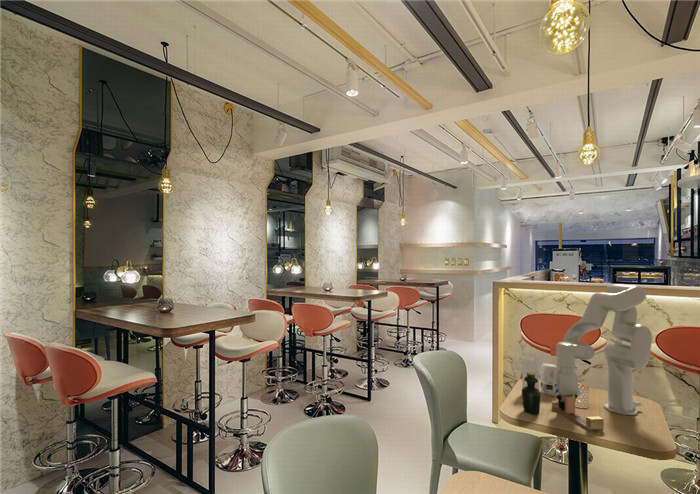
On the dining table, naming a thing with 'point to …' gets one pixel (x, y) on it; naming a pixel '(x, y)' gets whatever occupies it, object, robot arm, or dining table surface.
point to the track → (573, 417)
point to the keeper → (569, 404)
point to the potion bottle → (531, 395)
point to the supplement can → (547, 377)
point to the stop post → (595, 422)
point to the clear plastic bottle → (530, 367)
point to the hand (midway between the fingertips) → (566, 408)
